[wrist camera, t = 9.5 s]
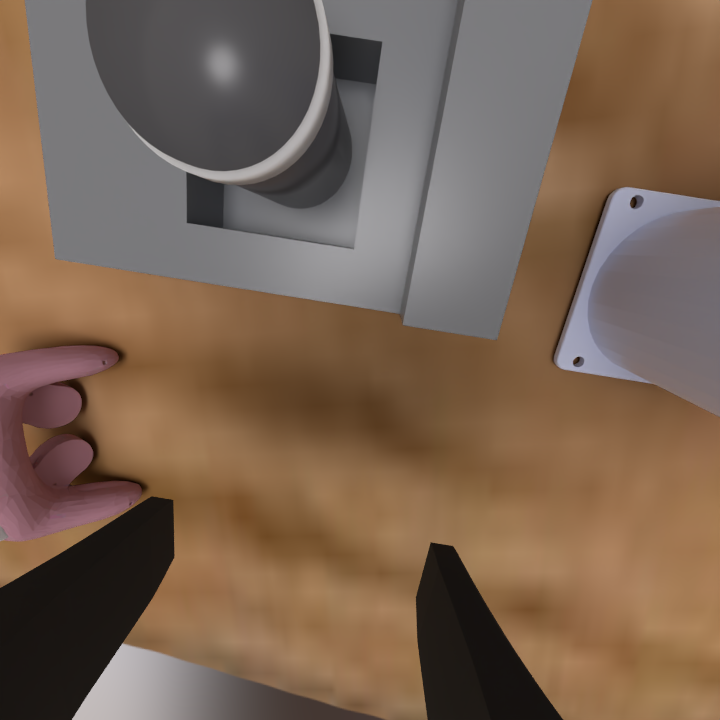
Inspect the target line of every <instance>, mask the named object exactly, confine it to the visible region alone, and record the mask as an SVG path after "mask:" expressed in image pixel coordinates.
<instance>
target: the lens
mask: <svg viewBox="0 0 720 720" xmlns="http://www.w3.org/2000/svg"><path fill="white" fill-rule="evenodd" d="M86 23H87V30H88V37H89V43H90V47H91V51H92V55H93V59H94V62H95V65H96V68H97V70H98V73H99V76H100V78H101V81H102V83H103V85H104V87H105V89H106V91H107V93H108V95H109V97H110V98H111V100H112V102H113V103H114V105H115V107H116V108H117V110H118V111H119V112H120V114H121V115H122V116H123V118H124V119H125V120H126V122H127V123H128V124H129V126H130V127H131V128H132V130H133V131H134V132H135V134H136V135H137V136H138V137H139V138H140V139H141V140H142V141H143V142H144V143H145V144H146V145H147V146H148V147H149V148H150V149H151V150H152V151H154V152H155V153H156V154H157V155H158V156H160V157H161V158H163V159H164V160H166V161H167V162H169V163H170V164H172V165H174V166H176V167H178V168H180V169H182V170H184V171H186V172H189V173H191V174H194V175H196V176H199V177H201V178H204V179H207V180H210V181H213V182H217V183H222V184H227V185H237V186H239V187H241V188H244V189H246V190H248V191H251V192H253V193H255V194H258V195H260V196H262V197H265V198H267V199H269V200H272V201H274V202H276V203H279V204H281V205H284V206H287V207H291V208H299V209H303V208H310V207H314V206H317V205H319V204H322V203H323V202H325V201H327V200H328V199H329V198H331V197H332V196H333V195H334V194H335V193H336V192H337V191H338V190H339V188H340V187H341V186H342V184H343V182H344V180H345V179H346V176H347V174H348V171H349V168H350V164H351V158H352V140H351V134H350V130H349V126H348V123H347V119H346V116H345V112H344V108H343V105H342V101H341V98H340V94H339V90H338V87H337V83H336V80H335V76H334V72H333V52H332V43H331V38H330V33H329V28H328V23H327V19H326V15H325V11H324V7H323V3H322V0H86Z"/></svg>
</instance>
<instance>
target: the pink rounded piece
mask: <svg viewBox="0 0 720 720" xmlns="http://www.w3.org/2000/svg"><path fill="white" fill-rule="evenodd" d="M118 360H119V356H118V354H117V352H115V351H114V350H112V349H110V348H106V347H100V346H86V345H78V346H60V347H51V348H43V349H34V350H27V351H21V352H15V353H9V354H3V355H0V541H2V540H7V541H26V540H31V539H36V538H39V537H43V536H46V535H49V534H53V533H56V532H59V531H63V530H66V529H70V528H73V527H77V526H80V525H84V524H88V523H91V522H95V521H98V520H102V519H105V518H108V517H111V516H113V515H116V514H119V513H120V512H122V511H124V510H126V509H127V508H129V507H131V506H132V505H133V504H134V503H135V502H136V501H137V500H138V499H139V498H140V497H141V495H142V489H141V487H140V485H139V484H136V483H132V482H128V481H105V482H95V483H87V484H80V485H74V486H72V485H70V483H71V482H72V481H73V480H74V479H75V478H76V477H77V476H78V475H79V474H80V473H81V472H82V471H84V470H85V469H86V468H87V467H88V465H89V464H90V463H91V461H92V458H93V450H92V448H91V446H90V445H89V444H88V443H87V442H85V441H84V440H82V439H80V438H79V437H77V436H75V435H72V434H61V435H57V436H54V437H52V438H50V439H48V440H47V441H46V442H44V443H43V444H42V445H40V446H39V447H38V448H37V449H36V450H35V452H34V453H33V454H32V455H31V456H30V457H29V455H28V452H27V447H26V442H25V438H24V432H23V425H22V423H25V424H29V425H32V426H35V427H38V428H47V429H49V428H57V427H61V426H63V425H66V424H68V423H70V422H71V421H73V420H74V419H75V418H76V417H77V415H78V414H79V412H80V409H81V405H82V399H81V396H80V394H79V393H78V392H77V391H76V390H75V389H73V388H72V387H70V386H68V385H66V384H64V383H61V382H59V381H64V380H70V379H75V378H80V377H85V376H90V375H93V374H96V373H98V372H101V371H104V370H106V369H108V368H110V367H111V366H113V365H114V364H115V363H116V362H117V361H118Z"/></svg>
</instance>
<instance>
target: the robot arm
mask: <svg viewBox="0 0 720 720" xmlns="http://www.w3.org/2000/svg"><path fill="white" fill-rule="evenodd" d="M632 197H635V198H636V200H637V204H636V206H635V207H634V208H631V206H630V201H631V199H632ZM576 357H580V361H579V362H578V363H577V364H573V360H574V359H575V358H576ZM554 363H555V364H556V365H557V366H558V367H559V368H561V369H564V370H569V371H576V372H582V373H588V374H594V375H601V376H607V377H613V378H619V379H626V380H632V381H638V382H644V383H651V384H655V385H657V386H659V387H661V388H663V389H665V390H667V391H669V392H671V393H673V394H675V395H677V396H679V397H681V398H683V399H685V400H687V401H689V402H691V403H693V404H695V405H697V406H699V407H701V408H703V409H705V410H707V411H709V412H711V413H713V414H715V415H717V416H719V417H720V201H715V200H709V199H702V198H696V197H689V196H683V195H677V194H670V193H664V192H657V191H651V190H644V189H638V188H631V187H623V188H619V189H617V190H614V191H613V192H612V193H611V194H610V195H609V197H608V199H607V202H606V205H605V208H604V211H603V214H602V217H601V219H600V222H599V225H598V228H597V231H596V234H595V237H594V240H593V243H592V246H591V249H590V252H589V255H588V258H587V261H586V264H585V267H584V270H583V273H582V276H581V279H580V281H579V284H578V287H577V290H576V293H575V296H574V299H573V302H572V305H571V308H570V311H569V314H568V317H567V320H566V323H565V326H564V329H563V332H562V335H561V338H560V341H559V344H558V346H557V349H556V352H555V355H554ZM173 559H174V514H173V500H170V499H164V498H158V497H150V498H148V499H147V500H145V501H143V502H142V503H140V504H138V505H137V506H135V507H134V508H132V509H131V510H129V511H127V512H126V513H124V514H123V515H121V516H120V517H118V518H116V519H115V520H113V521H112V522H110V523H109V524H107V525H105V526H104V527H102V528H101V529H99V530H98V531H96V532H94V533H93V534H91V535H89V536H88V537H86V538H85V539H83V540H81V541H80V542H78V543H77V544H75V545H73V546H72V547H70V548H69V549H67V550H65V551H64V552H62V553H60V554H59V555H57V556H55V557H53V558H52V559H50V560H48V561H47V562H45V563H43V564H41V565H40V566H38V567H36V568H34V569H33V570H31V571H29V572H28V573H26V574H24V575H22V576H21V577H19V578H17V579H15V580H14V581H12V582H10V583H9V584H7V585H5V586H3V587H1V588H0V720H72V718H73V717H74V715H75V713H76V712H77V710H78V709H79V707H80V706H81V704H82V702H83V701H84V699H85V698H86V696H87V695H88V693H89V692H90V690H91V689H92V687H93V686H94V684H95V683H96V682H97V680H98V679H99V677H100V675H101V674H102V673H103V671H104V669H105V668H106V667H107V665H108V664H109V662H110V660H111V659H112V658H113V656H114V655H115V653H116V652H117V650H118V649H119V647H120V646H121V644H122V643H123V641H124V640H125V639H126V637H127V636H128V634H129V633H130V631H131V630H132V628H133V627H134V625H135V624H136V622H137V621H138V619H139V618H140V616H141V615H142V613H143V612H144V610H145V609H146V607H147V606H148V604H149V603H150V601H151V599H152V598H153V596H154V594H155V593H156V591H157V589H158V587H159V585H160V583H161V582H162V580H163V578H164V576H165V574H166V572H167V570H168V568H169V566H170V564H171V563H172V561H173ZM416 612H417V639H418V649H419V657H420V664H421V672H422V680H423V687H424V695H425V702H426V710H427V717H428V720H563V719H562V717H561V716H560V715H559V713H558V712H557V711H556V709H555V708H554V707H553V705H552V704H551V703H550V701H549V700H548V698H547V697H546V696H545V694H544V693H543V691H542V690H541V688H540V687H539V686H538V684H537V683H536V681H535V680H534V678H533V677H532V675H531V674H530V672H529V671H528V669H527V668H526V666H525V665H524V664H523V662H522V661H521V659H520V658H519V656H518V655H517V653H516V651H515V650H514V648H513V647H512V645H511V644H510V642H509V641H508V639H507V638H506V636H505V634H504V633H503V631H502V629H501V628H500V626H499V625H498V623H497V621H496V620H495V618H494V616H493V615H492V613H491V612H490V610H489V608H488V607H487V605H486V603H485V601H484V600H483V598H482V596H481V595H480V593H479V591H478V589H477V588H476V586H475V584H474V582H473V581H472V579H471V577H470V575H469V573H468V572H467V570H466V568H465V566H464V564H463V563H462V561H461V559H460V557H459V555H458V553H457V552H456V550H455V548H454V547H453V546H449V545H443V544H437V543H431V544H430V548H429V551H428V555H427V559H426V562H425V566H424V570H423V573H422V577H421V581H420V585H419V588H418V592H417V596H416Z"/></svg>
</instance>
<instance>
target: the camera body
mask: <svg viewBox="0 0 720 720" xmlns="http://www.w3.org/2000/svg"><path fill="white" fill-rule="evenodd" d="M322 3H323V7H324V11H325V15H326V19H327V23H328V28H329V33H330V38H331V43H332V52H333V72H334V76H335V80H336V83H337V87H338V90H339V94H340V98H341V101H342V105H343V108H344V112H345V116H346V119H347V123H348V126H349V130H350V134H351V140H352V158H351V164H350V168H349V171H348V174H347V176H346V179H345V180H344V182H343V184H342V186H341V187H340V188H339V190H338V191H337V192H336V193H335V194H334V195H333V196H332V197H331V198H329V199H328V200H327V201H325V202H323V203H322V204H319V205H317V206H314V207H310V208H303V209H299V208H291V207H287V206H284V205H281V204H279V203H276V202H274V201H272V200H269V199H267V198H265V197H262V196H260V195H258V194H255V193H253V192H251V191H248V190H246V189H244V188H241V187H239V186H237V185H227V184H222V183H217V182H213V181H210V180H207V179H204V178H201V177H199V176H196V175H194V174H191V173H189V172H186V171H184V170H182V169H180V168H178V167H176V166H174V165H172V164H170V163H169V162H167V161H166V160H164V159H163V158H161V157H160V156H158V155H157V154H156V153H155V152H154V151H152V150H151V149H150V148H149V147H148V146H147V145H146V144H145V143H144V142H143V141H142V140H141V139H140V138H139V137H138V136H137V135H136V134H135V132H134V131H133V130H132V128H131V127H130V126H129V124H128V123H127V122H126V120H125V119H124V118H123V116H122V115H121V114H120V112H119V111H118V110H117V108H116V107H115V105H114V103H113V102H112V100H111V98H110V97H109V95H108V93H107V91H106V89H105V87H104V85H103V83H102V81H101V78H100V76H99V73H98V70H97V68H96V65H95V62H94V59H93V55H92V51H91V47H90V43H89V37H88V30H87V23H86V0H25V6H26V15H27V23H28V32H29V40H30V49H31V57H32V66H33V74H34V83H35V91H36V100H37V108H38V117H39V125H40V134H41V142H42V151H43V159H44V168H45V176H46V185H47V193H48V201H49V210H50V218H51V227H52V235H53V244H54V252H55V259H59V260H65V261H71V262H77V263H84V264H90V265H96V266H103V267H109V268H115V269H121V270H128V271H134V272H140V273H147V274H153V275H159V276H165V277H172V278H178V279H184V280H191V281H197V282H203V283H209V284H216V285H222V286H228V287H235V288H241V289H247V290H253V291H260V292H266V293H272V294H279V295H285V296H291V297H297V298H304V299H310V300H316V301H323V302H329V303H335V304H341V305H348V306H354V307H360V308H367V309H373V310H379V311H385V312H392V313H398V314H400V317H401V321H402V324H403V325H405V326H411V327H417V328H424V329H430V330H436V331H442V332H449V333H455V334H461V335H468V336H474V337H480V338H486V339H493V340H497V338H498V335H499V331H500V327H501V324H502V320H503V317H504V313H505V310H506V306H507V303H508V299H509V295H510V292H511V288H512V285H513V281H514V278H515V274H516V270H517V267H518V263H519V260H520V256H521V253H522V249H523V246H524V242H525V238H526V235H527V231H528V228H529V224H530V221H531V217H532V214H533V210H534V206H535V203H536V199H537V196H538V192H539V189H540V185H541V181H542V178H543V174H544V171H545V167H546V164H547V160H548V157H549V153H550V149H551V146H552V142H553V139H554V135H555V132H556V128H557V124H558V121H559V117H560V114H561V110H562V107H563V103H564V100H565V96H566V92H567V89H568V85H569V82H570V78H571V75H572V71H573V67H574V64H575V60H576V57H577V53H578V50H579V46H580V43H581V39H582V35H583V32H584V28H585V25H586V21H587V18H588V14H589V10H590V7H591V3H592V0H322Z"/></svg>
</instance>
